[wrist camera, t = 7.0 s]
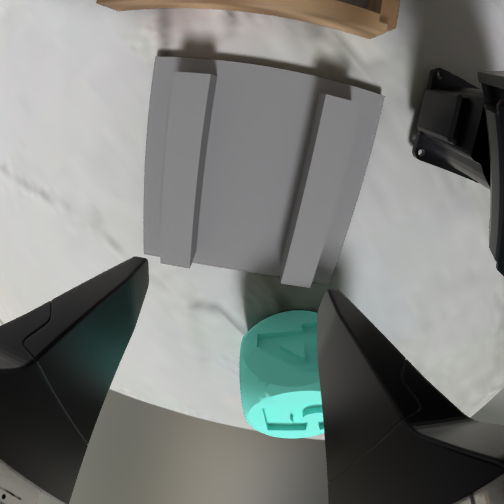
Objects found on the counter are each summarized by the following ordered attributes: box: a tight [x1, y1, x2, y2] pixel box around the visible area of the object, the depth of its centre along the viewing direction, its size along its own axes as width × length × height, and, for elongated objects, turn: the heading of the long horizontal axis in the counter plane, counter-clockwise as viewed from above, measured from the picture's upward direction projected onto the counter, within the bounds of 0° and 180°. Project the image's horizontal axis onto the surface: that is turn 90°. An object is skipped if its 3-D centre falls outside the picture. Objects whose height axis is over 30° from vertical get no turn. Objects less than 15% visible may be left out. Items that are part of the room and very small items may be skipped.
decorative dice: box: [240, 310, 324, 438], centre depth 23 cm, size 8×8×8 cm
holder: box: [144, 57, 385, 288], centre depth 18 cm, size 14×14×3 cm
